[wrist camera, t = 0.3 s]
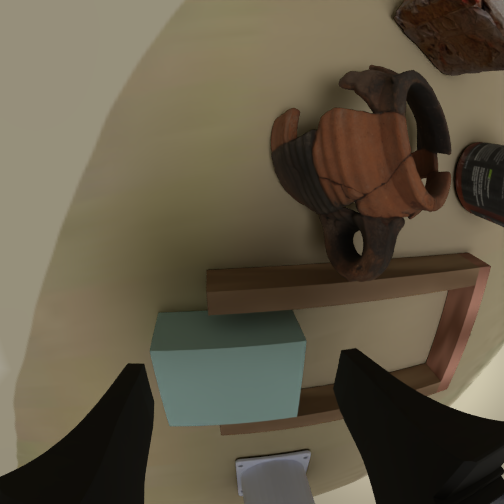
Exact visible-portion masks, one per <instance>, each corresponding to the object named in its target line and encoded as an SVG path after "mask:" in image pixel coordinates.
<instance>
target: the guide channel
mask: <svg viewBox="0 0 504 504" xmlns="http://www.w3.org/2000/svg"><path fill="white" fill-rule="evenodd" d="M490 268H491V266H490V265H488V264H487V263H485V262H483V261H482V260H480V259H478V258H477V257H475V256H473V255H471V254H470V253H459V254H447V255H434V256H421V257H408V258H394V259H391V261H390V263H389V265H388V267H387V268H386V270H385V271H384V272H383V273H382V274H381V275H380V276H378V277H377V278H376V279H374V280H371V281H364V282H359V281H354V282H348V281H347V280H346V278H344V277H343V276H342V275H340V273H338V272H337V271H336V270H335V269H334V267H333V266H332V264H331V263H320V264H304V265H288V266H270V267H253V268H234V269H215V270H207V281H206V293H207V305H208V315H224V314H241V313H255V312H269V311H281V310H293V309H304V308H314V307H324V306H334V305H343V304H352V303H360V302H368V301H376V300H384V299H392V298H399V297H406V296H413V295H420V294H427V293H433V292H439V291H446V290H449V291H448V295H447V299H446V302H445V306H444V310H443V313H442V316H441V320H440V323H439V326H438V329H437V332H436V336H435V339H434V342H433V344H432V347H431V350H430V353H429V356H428V359H427V361H426V363H424V364H421V365H417V366H413V367H410V368H406V369H402V370H398V371H394V372H390V374H392V375H393V376H395V377H396V378H397V379H399V380H400V381H402V382H403V383H405V384H406V385H408V386H410V387H411V388H413V389H415V390H416V391H418V392H420V393H421V394H423V395H425V396H428V395H431V394H434V393H437V392H440V391H443V390H445V389H447V388H448V386H449V384H450V382H451V379H452V377H453V375H454V373H455V370H456V368H457V366H458V363H459V361H460V359H461V356H462V354H463V351H464V349H465V346H466V344H467V341H468V339H469V336H470V333H471V330H472V328H473V325H474V322H475V319H476V316H477V313H478V310H479V307H480V304H481V300H482V297H483V294H484V290H485V287H486V283H487V280H488V276H489V272H490ZM333 387H334V384H331V385H325V386H319V387H312V388H306V389H301V392H300V399H299V406H298V414H297V417H292V418H285V419H277V420H269V421H260V422H250V423H239V424H225V425H220V430H221V435H236V434H248V433H258V432H267V431H275V430H283V429H290V428H297V427H303V426H309V425H315V424H320V423H326V422H331V421H336V420H341V419H344V418H343V416H342V414H341V412H340V409H339V406H338V403H337V400H336V397H335V394H334V390H333Z"/></svg>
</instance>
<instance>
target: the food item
mask: <svg viewBox="0 0 504 504" xmlns="http://www.w3.org/2000/svg"><path fill="white" fill-rule="evenodd" d="M394 19H395V20H396V22H397V23H398V24H399V25H400V26H401V27H402V28H403V29H404V32H405V34H406V35H407V36H408V37H409V38H410V39H411V40H412V41H413V42H415V43H416V44H417V45H418V46H419V48H420V49H421V50H422V51H423V52H424V53H425V54H426V55H427V57H428V58H429V59H430V60H431V61H432V63H433V64H434V65H435V66H436V67H437V68H438V69H439V70H440V71H441V72H442V73H444V74H448V75H451V76H454V75H461V74H465V73H480V72H482V71H499V70H504V0H405V1H404V2H403V3H402V4H401V5H400V7H399V9H398V10H397V12H396V15H395V17H394Z"/></svg>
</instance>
